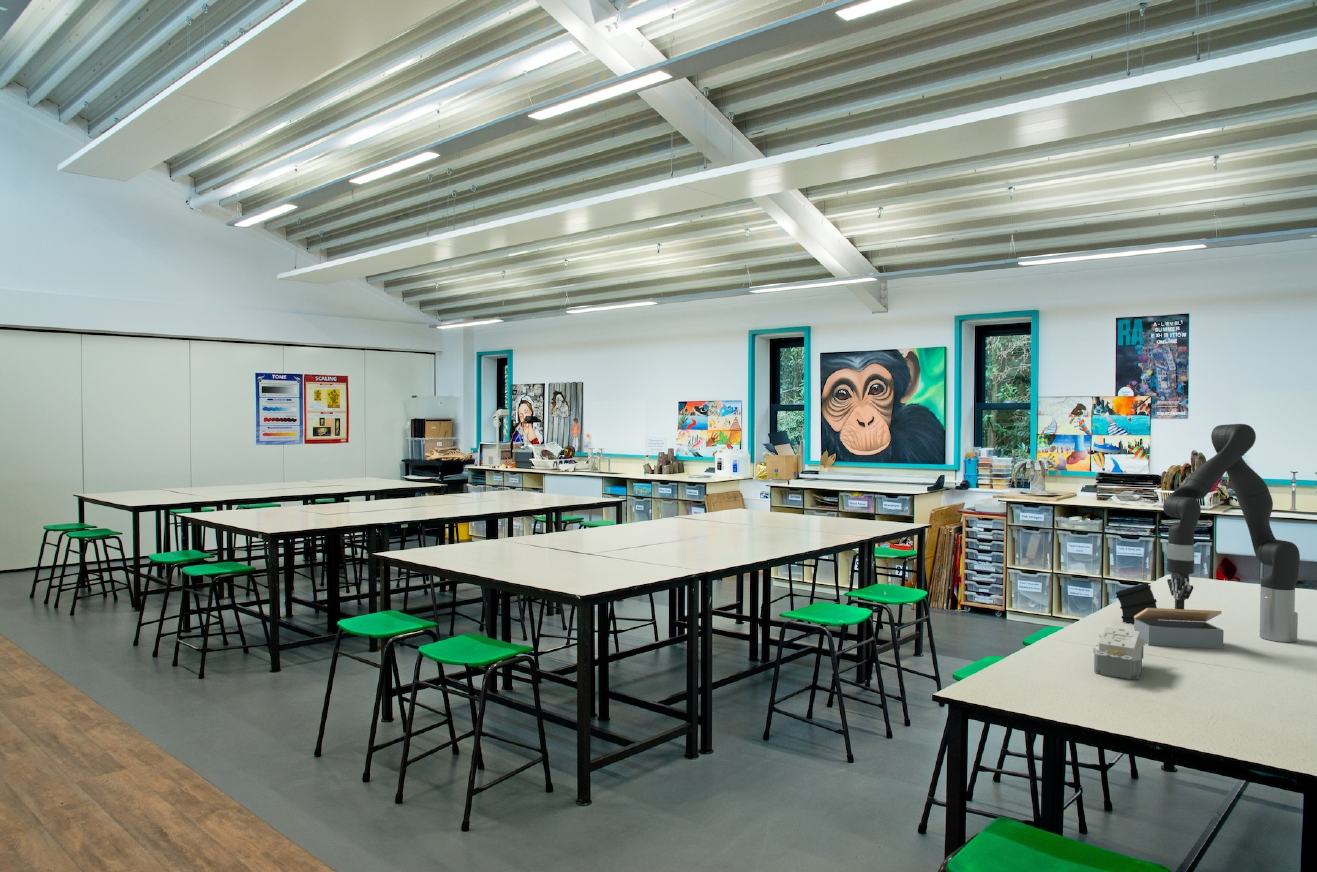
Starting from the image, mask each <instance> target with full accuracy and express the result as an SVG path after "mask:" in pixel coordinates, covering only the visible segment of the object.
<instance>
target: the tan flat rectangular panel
mask: <svg viewBox="0 0 1317 872" xmlns="http://www.w3.org/2000/svg"><path fill="white" fill-rule="evenodd" d="M1219 615H1222V610H1210V609H1209V610H1206V609H1185V608H1184V609H1175V608H1160V607H1157V608H1146V609H1145V610H1143V611H1141V612H1140V613H1138V614H1137V615H1135V616H1134V619H1154V620H1170V621H1192V622H1208V621H1210V620H1212V619H1214V618H1216V617H1218V616H1219Z"/></svg>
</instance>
